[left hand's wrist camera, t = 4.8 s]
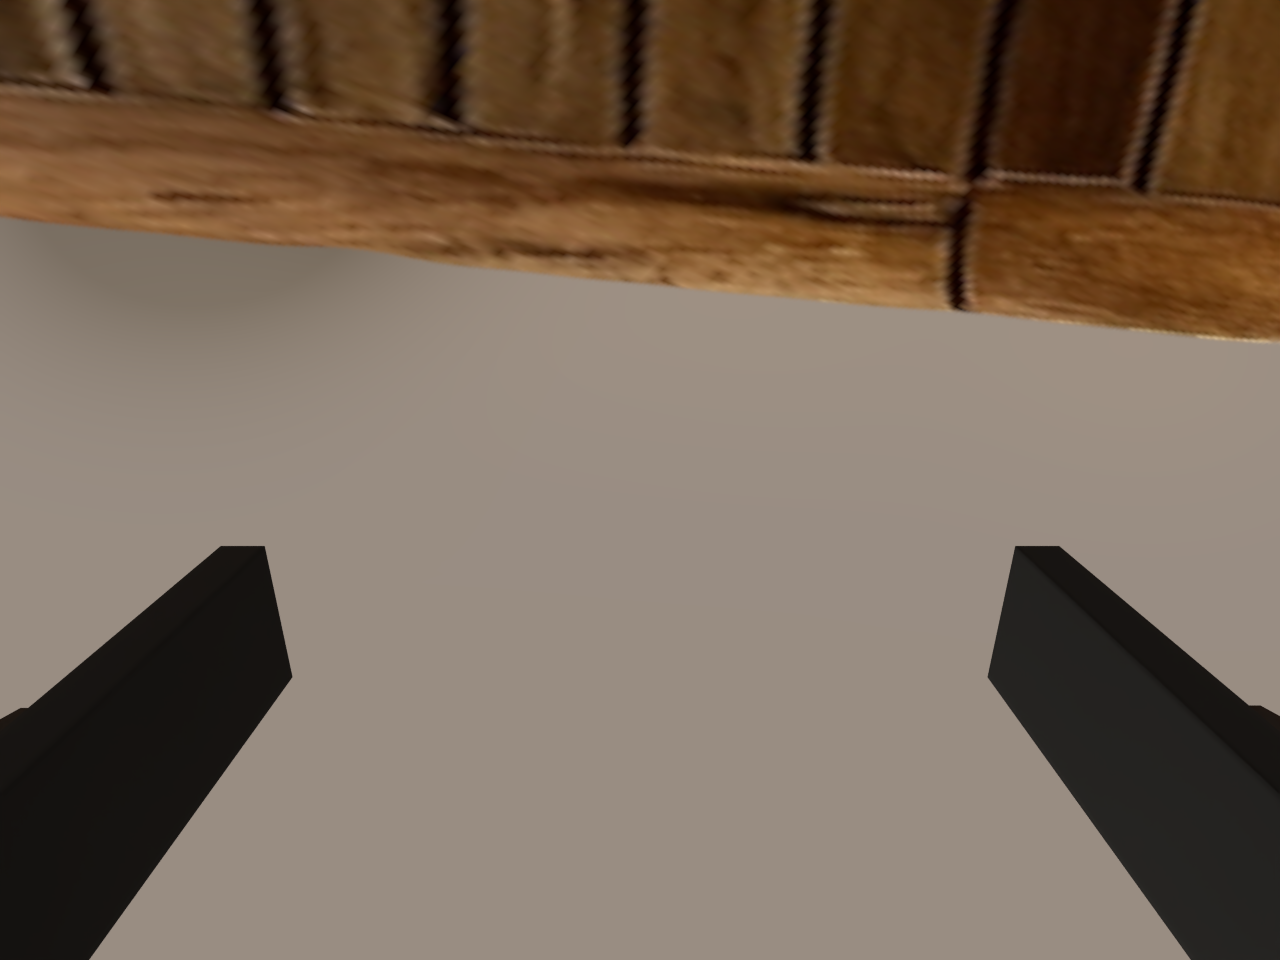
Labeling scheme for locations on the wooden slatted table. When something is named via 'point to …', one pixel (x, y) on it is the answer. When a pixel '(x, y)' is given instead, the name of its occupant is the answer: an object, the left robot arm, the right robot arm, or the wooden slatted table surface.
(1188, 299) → the wooden slatted table surface
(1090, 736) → the left robot arm
